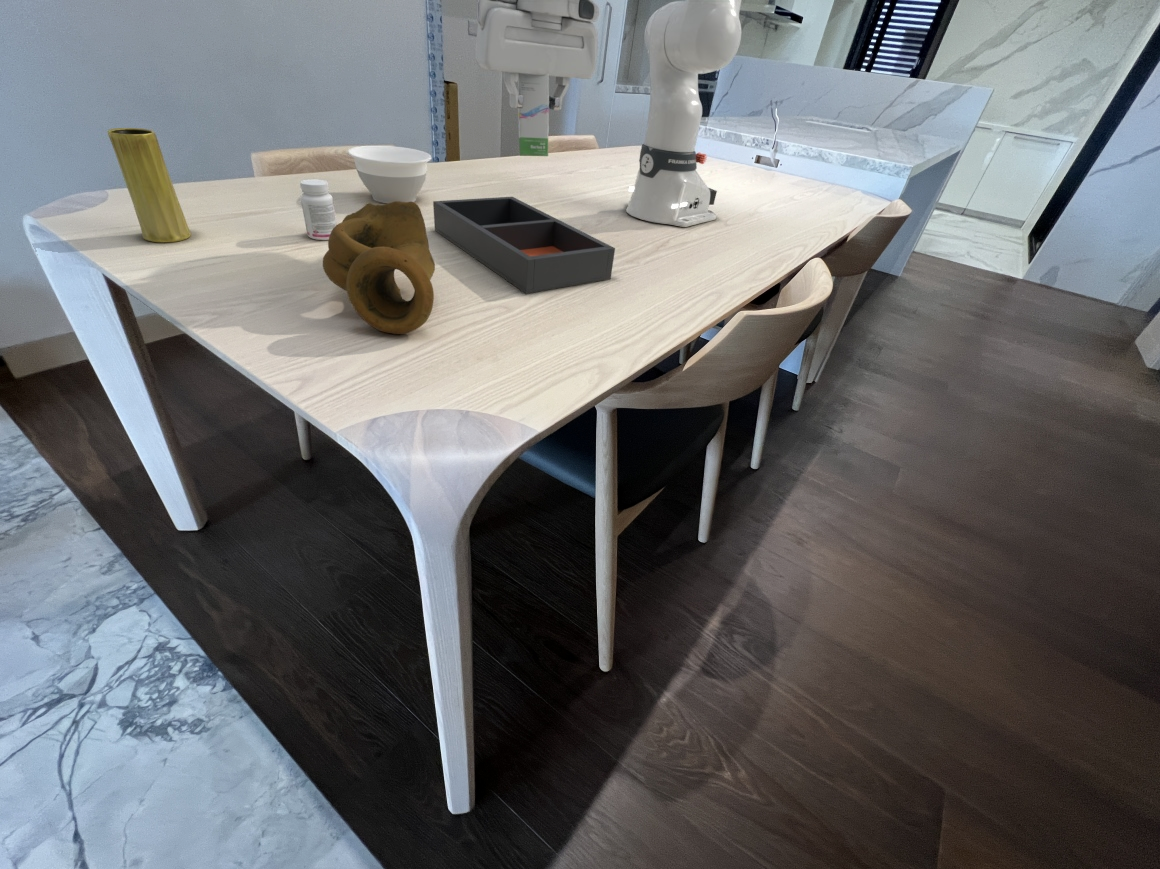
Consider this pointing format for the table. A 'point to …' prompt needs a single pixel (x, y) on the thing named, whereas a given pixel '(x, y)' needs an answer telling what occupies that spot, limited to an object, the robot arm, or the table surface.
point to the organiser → (523, 243)
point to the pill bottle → (317, 208)
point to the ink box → (533, 114)
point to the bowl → (391, 171)
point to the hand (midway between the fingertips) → (536, 108)
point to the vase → (149, 184)
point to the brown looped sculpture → (383, 264)
